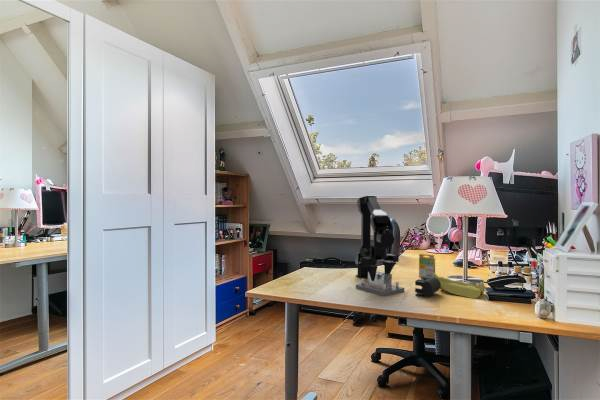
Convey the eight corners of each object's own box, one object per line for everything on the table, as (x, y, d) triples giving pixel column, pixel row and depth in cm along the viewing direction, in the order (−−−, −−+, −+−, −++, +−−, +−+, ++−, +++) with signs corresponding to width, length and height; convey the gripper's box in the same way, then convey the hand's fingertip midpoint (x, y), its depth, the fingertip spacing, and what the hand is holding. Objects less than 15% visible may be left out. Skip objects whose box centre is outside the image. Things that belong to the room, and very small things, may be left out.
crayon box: (435, 277, 183) (435, 254, 183) (433, 278, 180) (434, 255, 180) (420, 275, 187) (420, 253, 187) (418, 277, 184) (419, 254, 184)
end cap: (431, 299, 144) (432, 282, 144) (414, 295, 149) (414, 279, 149) (440, 294, 152) (441, 277, 152) (424, 291, 156) (424, 275, 156)
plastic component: (485, 288, 154) (482, 281, 146) (482, 305, 151) (478, 299, 144) (437, 277, 166) (432, 271, 158) (434, 293, 163) (428, 287, 156)
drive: (375, 283, 163) (375, 270, 163) (391, 287, 156) (391, 273, 156) (367, 284, 160) (367, 271, 160) (383, 288, 153) (384, 275, 153)
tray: (375, 284, 168) (375, 275, 168) (404, 291, 155) (404, 282, 155) (355, 288, 160) (355, 279, 160) (384, 296, 148) (384, 286, 148)
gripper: (380, 240, 170) (379, 273, 170) (351, 243, 159) (350, 278, 159) (399, 242, 161) (399, 278, 161) (370, 245, 150) (370, 283, 150)
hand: (379, 279), depth 158 cm, fingers open, 8 cm apart
